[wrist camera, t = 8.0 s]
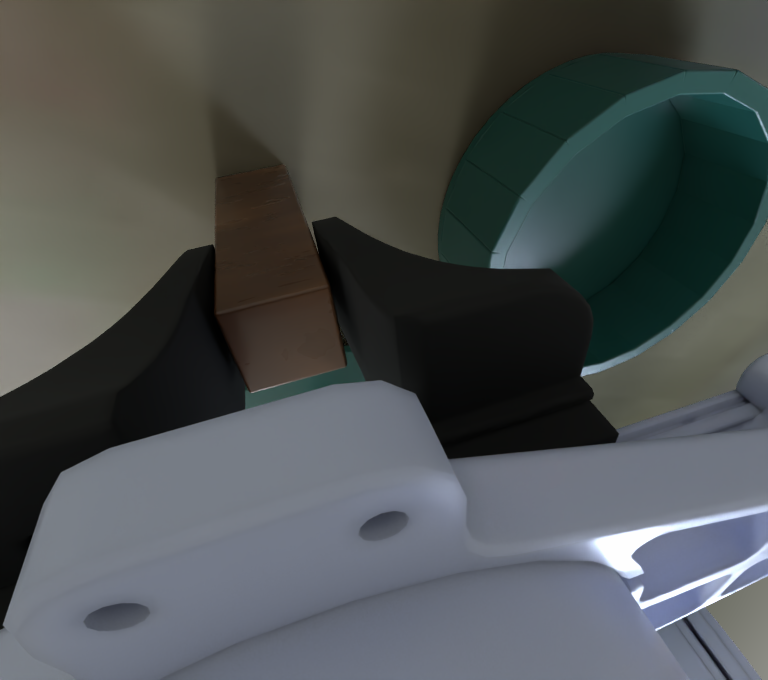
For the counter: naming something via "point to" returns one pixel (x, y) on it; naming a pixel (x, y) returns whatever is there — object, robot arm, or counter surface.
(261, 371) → the stick
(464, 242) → the tin
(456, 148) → the counter surface
